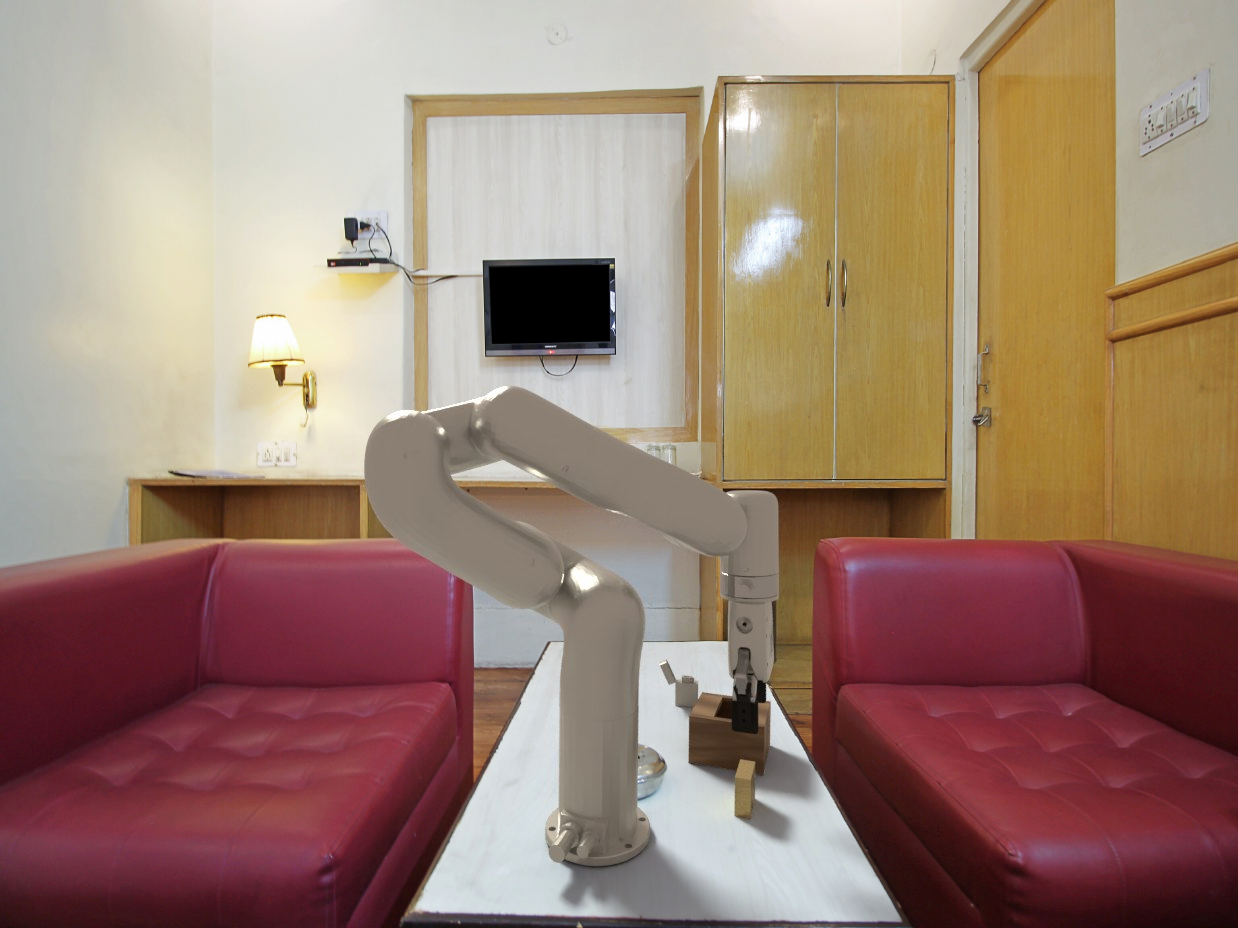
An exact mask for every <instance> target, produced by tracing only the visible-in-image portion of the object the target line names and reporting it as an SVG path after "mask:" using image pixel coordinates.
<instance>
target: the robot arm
mask: <svg viewBox="0 0 1238 928" xmlns="http://www.w3.org/2000/svg"><path fill="white" fill-rule="evenodd" d="M365 446H366V447H365V451H364V452H365V453H364V465H363V472H364V484H365V485H364V486H365V491H366V494H367V498H368V502H369V503H370V506H371V508H372V511H373V512H374V515H375V516H376V518H377V520H378V521H379V522H380V523H381V524H380V525H382V526H383V528H384V529H385V530H386V531H387V532H388V533H389V534H390V535H391V536H392V537H393V538H394V539H395V540H396V541H398V542H399V543H400V544H401V545H403V546H404V547H406V548H407V549H409V550H410V551H412V552H414V553H416V554H417V555H419V556H421V557H423V558H424V559H426V560H428V561H430V562H431V563H433V564H435V565H436V566H438V567H439V568H442V569H443V570H445V571H446V572H448V573H449V574H451V575H453V576H454V577H457V578H459V580H463V581H464V582H466V583H467V584H469V585H471V586H472V587H475V588H477V589H479V590H481V591H482V592H484V593H485V594H487V595H489V596H490V597H492V598H494V599H496V601H498V602H500V603H501V604H503V605H505V606H508V607H510V608H514V609H519V610H532V611H533V612H534V613H535V612H536V613H538V614H540V615H542V616H543V617H545V618H547V619H548V620H550V621H553V622H554V623H556V624H557V625H558V626H559V627H560V629H561V630H562V632H563V649H562V657H561V663H560V672H559V673H560V674H559V692H558V693H559V697H558V698H559V699H558V701H559V702H558V703H559V704H558V705H559V719H558V720H559V721H558V722H559V732H558V733H559V735H558V737H559V738H558V740H559V741H558V743H559V745H558V806H557V808H556V809H554V810H553V811H552V813H550V814H549V816H548V818H547V820H546V823H545V827H544V828H545V829H544V831H545V833H544V834H545V840H546V842H547V845H548V847H549V848H548V856H549V858H550V859H551V860H552V862H554V863H558V864H559V863H562V862H563V861H564V860H566V861H568V862H571V863H574V864H576V865H577V864H578V865H581V866H589V867H605V866H611V865H618V864H620V863H623V862H627V861H628V860H630V859H632V858H634V857H636V856H637V855H639V854H640V853H642V851H643V850H644V849H645V848H646V846H647V845H648V843H649V841H650V836H651V823H650V820H649V817H648V816H647V815H646V813H645V812H644V811H643V810H642V809H641V808H640V807H638V798H639V797H638V796H639V795H638V793H639V792H638V791H639V787H638V786H639V783H638V781H639V710H640V709H639V706H640V705H639V697H640V695H639V694H640V693H639V691H640V690H639V689H640V685H639V684H640V667H641V657H642V651H643V646H644V639H645V633H646V613H645V607H644V605H643V601H642V599H641V597H640V595H639V593H638V592H637V590H636V589H635V587H633V586H632V584H631V583H630V582H629V581H627V579H625V578H623V577H622V576H621V575H619V574H617V573H615V572H614V571H612V570H610V569H608V568H606V567H605V566H603V565H601V564H599V563H598V562H596V561H594V560H593V559H592V560H591V559H590V558H589V557H587V556H585V555H583V554H582V553H580V552H578V551H576V550H574V549H573V548H571V547H569V546H568V545H566V544H564V543H563V542H561V541H559V540H557V539H556V538H554V537H552V536H550V535H549V534H548V533H546V532H543V531H542V530H540V529H539V528H537V527H535V526H534V525H532V524H529V523H527V522H524V521H519V520H514V519H512V518H510V517H509V516H507V515H505V514H503V513H501V512H500V511H498V510H496V509H494V508H492V507H491V506H489V504H487V503H485V502H484V501H482V500H481V499H479V498H477V497H476V496H474V495H472V494H470V493H468V492H466V491H465V490H464V489H462V488H461V487H460V486H459V485H458V484H457V483H456V482H455V480H454V479H453V477H452V475H455V474H460V473H463V472H467V471H471V470H474V469H477V468H481V467H485V466H488V465H492V464H494V463H498V462H501V461H505V463H508V464H510V465H512V466H514V467H516V468H518V469H520V470H522V471H524V472H525V473H528V474H530V475H532V476H534V477H536V478H537V479H540V480H542V481H544V482H546V483H547V484H549V485H552V486H553V487H555V488H558V489H559V490H561V491H563V492H565V493H567V494H570V495H571V496H573V497H574V498H577V499H578V500H581V501H582V502H584V503H587V504H590V505H591V506H594V507H596V508H599V509H602V510H605V511H608V512H612V513H615V514H618V515H621V516H624V517H627V518H630V519H633V520H635V521H636V522H637V521H638V522H639V523H641V524H644V525H646V526H647V527H648V526H649V527H650V528H653V529H655V530H657V531H659V533H660V534H661V536H662V537H663V538H664V539H665V540H667V541H668V542H670V544H672V545H675V546H677V547H680V548H682V549H685V550H688V551H692V552H695V553H698V554H700V555H702V556H706V557H711V558H719V596H720V597H721V599H724V600H727V601H728V603H727V604H728V607H727V609H728V611H727V658H728V659H727V660H728V661H727V663H728V675H729V677H730V678H731V679H733V683H732V695H731V696H732V730H733V731H735V732H742V733H750V734H757V733H758V730H759V728H758V703H765V702H766V701H767V682H768V681H769V680H770V678H771V674H772V670H773V667H774V662H775V653H774V650H775V649H774V626H773V625H774V623H773V620H774V619H773V604H772V602H775V601H777V600H779V598H780V591H779V590H780V584H779V582H780V578H779V577H780V575H779V574H780V569H779V568H780V567H779V566H780V564H779V558H780V557H779V556H780V554H779V547H780V546H779V543H780V542H779V502H778V498H777V496H776V495H775V494H774V493H773V492H770V491H767V490H755V489H754V490H752V489H751V490H750V489H747V490H746V489H745V490H730V491H726V492H725V491H723V490H722V489H720V488H718V487H717V486H714V485H712V484H711V483H709V482H707V481H705V480H704V479H702V478H700V477H699V476H697V475H695V474H693V473H692V472H691V473H690V472H689V471H686V470H685V469H683V468H681V467H679V466H677V465H675V464H672V463H669V462H668V461H665V460H663V459H661V458H659V457H657V456H654V455H652V454H650V453H648V452H646V451H644V450H642V449H640V448H638V447H636V446H634V445H632V444H630V443H628V442H626V441H624V440H621V439H619V438H617V437H615V436H613V435H612V434H610V433H608V432H605V431H603V430H602V429H600V428H598V427H597V426H594V425H592V424H590V423H588V422H587V421H586V420H583V419H582V418H580V417H578V416H576V415H575V414H573V413H571V412H569V411H567V410H566V409H565V408H562V407H560V406H559V405H557V404H555V403H553V402H552V401H549V400H548V399H545V398H544V397H543V396H540V395H538V394H536V393H535V392H532V391H530V390H528V389H526V388H524V387H520V386H515V385H506V386H501V387H498V388H496V389H494V390H491V391H490V392H489V393H487V394H486V395H485V396H482V397H478V398H476V399H472V400H468V401H466V402H465V401H464V402H461V403H457V404H456V403H455V404H453V405H449V406H445V407H441V408H436V409H435V408H434V409H430V410H427V411H418V410H411V409H407V410H406V409H404V410H398V411H395V412H393V413H391V414H388V415H386V416H384V417H383V418H381V419H380V421H378V422H377V423H376V424H375V426H374V427H373V429H372V431H371V432H370V433H369V436H368V439H367V442H366V445H365Z"/></svg>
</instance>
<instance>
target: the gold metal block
mask: <svg viewBox="0 0 1238 928" xmlns="http://www.w3.org/2000/svg"><path fill="white" fill-rule="evenodd" d="M755 800H756V774H755V762H754V761H748V760H742V759H740V762H739V765H738V769H737V771H736V772H735V776H734V812H733V813H734V817H737V818H743V819H747V820H751V819H752V818H751V817H752V814H753V809H754V805H755V802H756V801H755Z"/></svg>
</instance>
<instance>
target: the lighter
mask: <svg viewBox="0 0 1238 928" xmlns="http://www.w3.org/2000/svg"><path fill="white" fill-rule="evenodd" d="M659 667H660V669H661V671H662V673H663V675H664V678H665V680H666V681H667V684H668V685H669V686H670V685H672V684H675V686H674V688H675V690H674V692H675V695H674V696H675V697H674V699H675V701H674V705H675V707H683V708H684V707H685V708H694V706H695V704H696V702H697V701H698V699H699V680H695V677H693V676H692V675H685V674H681V679H677V678H676V677H675V675H674V672H673V669H672V667H671V665H670V663H669V661H668V659H664V660H662V661H660V662H659Z"/></svg>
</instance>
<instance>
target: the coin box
mask: <svg viewBox="0 0 1238 928" xmlns="http://www.w3.org/2000/svg"><path fill="white" fill-rule="evenodd" d="M771 705H772V704H771V701H770V700H766V702H765V703H758V728H759V730H758V733H757V734H750V733H742V732H735V731H733V730H732V695H727V694H726V695H725V694H720V693H719V694H718V693H711V692H704V691H702V692H701V693H700V696H698V701H697V702H696V704H695V706H694V707H692V710H691V712H690V713H689V715H688V760H687V761H688V763H689V764H695V765H700V766H706V767H710V768H711V767H712V768H716V769H717V768H718V769H723V770H729V771H736V772H737V769H738V765H739V762H740V759H742V760H748V761H754V762H755V775H758V776H764V775H765V772H766V767H767V763H768V758H769V751H770V748H771V711H772V710H771Z"/></svg>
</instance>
